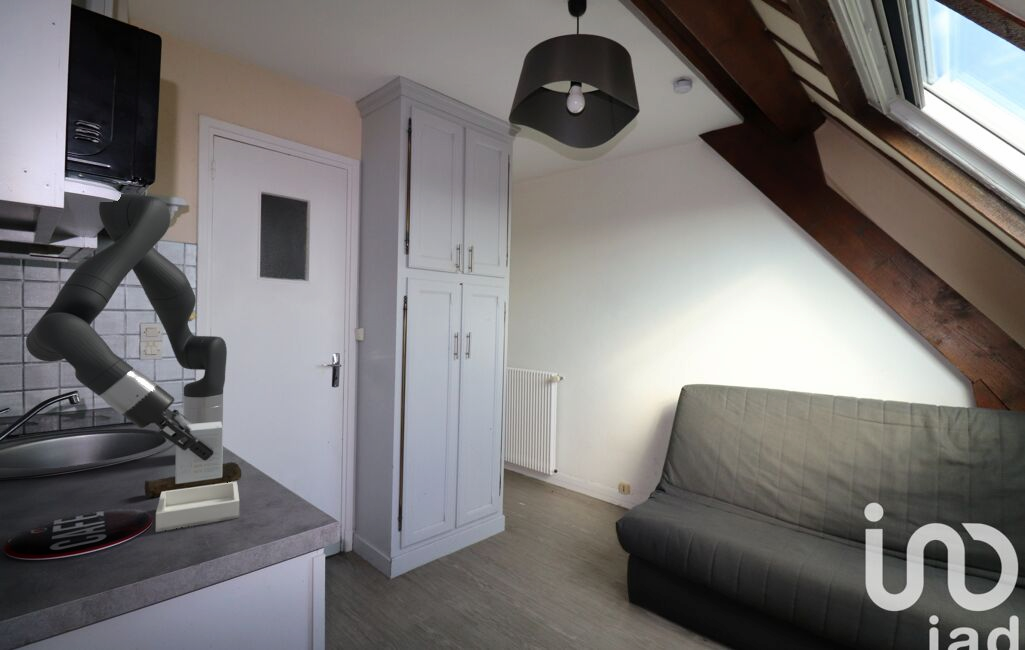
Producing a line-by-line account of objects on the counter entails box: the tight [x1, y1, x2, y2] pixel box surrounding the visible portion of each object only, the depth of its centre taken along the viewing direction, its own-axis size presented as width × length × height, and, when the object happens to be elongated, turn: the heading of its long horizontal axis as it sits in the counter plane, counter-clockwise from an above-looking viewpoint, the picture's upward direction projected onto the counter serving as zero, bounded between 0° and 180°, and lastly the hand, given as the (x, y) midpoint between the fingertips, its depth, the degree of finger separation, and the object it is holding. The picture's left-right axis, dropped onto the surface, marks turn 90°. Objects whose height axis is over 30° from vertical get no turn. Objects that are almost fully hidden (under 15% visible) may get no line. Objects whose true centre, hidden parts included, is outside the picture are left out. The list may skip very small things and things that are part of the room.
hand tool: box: [144, 461, 242, 500], centre depth 112 cm, size 19×4×5 cm, turn 132°
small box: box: [174, 422, 224, 484], centre depth 99 cm, size 8×6×10 cm
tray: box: [155, 480, 240, 533], centre depth 100 cm, size 12×14×4 cm
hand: (209, 452), depth 100 cm, fingers closed on small box, 5 cm apart
